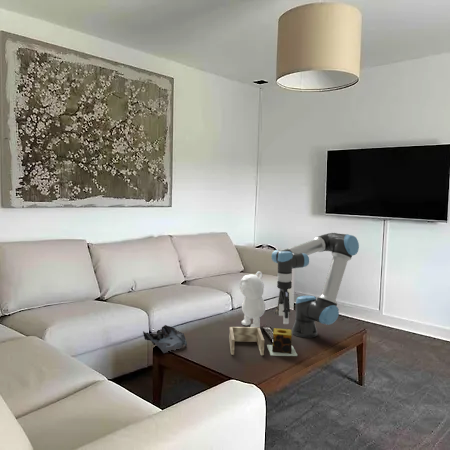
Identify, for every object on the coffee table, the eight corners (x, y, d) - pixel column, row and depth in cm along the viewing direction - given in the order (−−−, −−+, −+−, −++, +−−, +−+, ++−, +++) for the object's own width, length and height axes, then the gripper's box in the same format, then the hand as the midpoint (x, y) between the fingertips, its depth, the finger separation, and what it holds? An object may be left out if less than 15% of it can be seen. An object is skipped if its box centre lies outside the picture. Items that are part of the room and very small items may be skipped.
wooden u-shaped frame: (258, 340, 242) (259, 327, 241) (263, 355, 221) (264, 340, 220) (229, 340, 241) (229, 326, 240) (231, 354, 220) (231, 339, 219)
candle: (291, 354, 222) (292, 335, 221) (272, 352, 223) (272, 333, 223) (291, 347, 232) (292, 329, 231) (272, 345, 233) (273, 327, 233)
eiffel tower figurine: (291, 314, 299) (292, 295, 298) (285, 317, 290) (286, 298, 289) (272, 310, 307) (273, 292, 306) (266, 313, 298) (266, 295, 297)
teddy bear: (250, 333, 255) (252, 275, 252) (232, 325, 269) (234, 270, 266) (273, 327, 266) (275, 272, 263) (255, 320, 280) (256, 268, 277)
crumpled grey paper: (159, 356, 216) (159, 338, 215) (141, 344, 231) (141, 328, 231) (189, 349, 226) (189, 332, 226) (170, 338, 242) (170, 322, 242)
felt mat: (292, 346, 235) (292, 345, 235) (297, 356, 221) (297, 354, 221) (266, 345, 234) (266, 344, 234) (270, 355, 220) (270, 354, 220)
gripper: (273, 275, 237) (273, 312, 239) (281, 286, 212) (280, 327, 214) (287, 275, 237) (286, 312, 239) (296, 286, 212) (295, 327, 214)
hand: (283, 319), depth 226 cm, fingers open, 13 cm apart
